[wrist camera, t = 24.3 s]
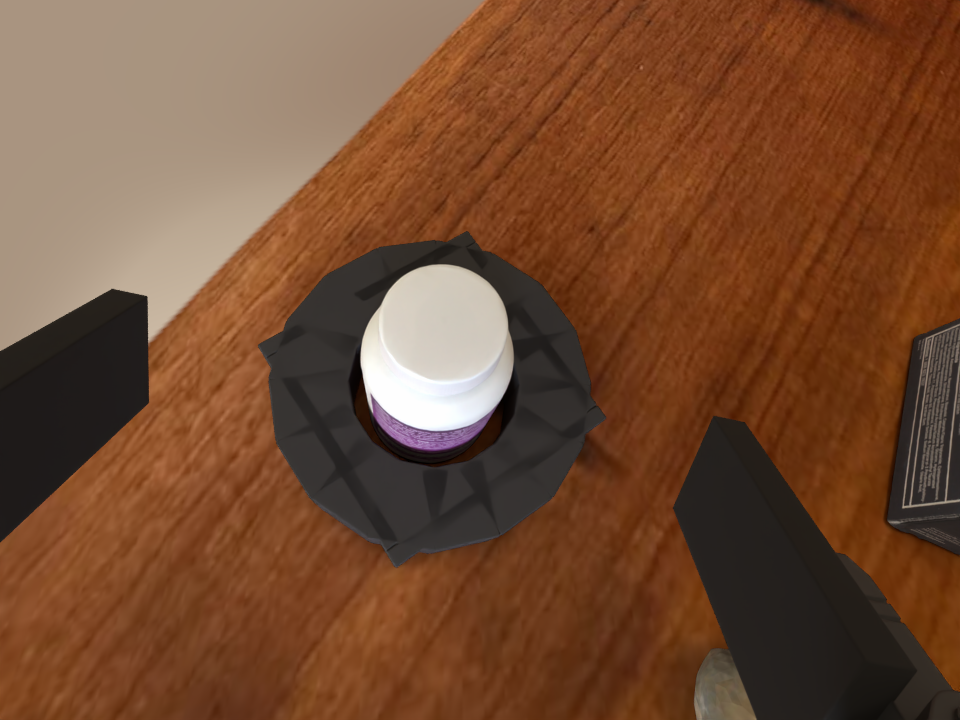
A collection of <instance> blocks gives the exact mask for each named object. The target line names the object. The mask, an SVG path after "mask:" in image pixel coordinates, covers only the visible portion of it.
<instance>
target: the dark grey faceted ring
mask: <svg viewBox="0 0 960 720" xmlns="http://www.w3.org/2000/svg"><path fill="white" fill-rule="evenodd" d="M438 264H441V265H454V266H459V267H462V268H465V269H467V270H470V271H472V272H474V273H476V274H478V275H479V276H480V277H482V278H483V279H485V280H486V281H487V282H488V283H489V284H490V285H491V286H492V287H493V288H494V289H495V290H496V292H497V293H498V295H499V296H500V298H501V300H502V302H503V304H504V307H505V310H506V314H507V318H508V331H509V333H510V336H511V340H512V344H513V352H514V363H513V371H512V375H511V379H510V382H509V384H508V387H507V389H506V391H505V393H504V395H503V400H504V404H505V407H504V413H503V419H502V425H501V431H500V434H499V436H498V437H497V439H496V440H495V442H494V443H493V445H491V446H490V447H488V448H487V449H485V450H484V451H482V452H481V453H479V454H478V455H476V456H475V457H473V458H472V459H470V460H469V461H464V462H459V463H454V464H449V465H444V466H439V467H431V466H426V465H421V464H416V463H411V462H406V461H401V460H399V459H398V458H396V457H395V456H393V455H392V454H390V453H389V452H387V451H386V450H384V449H383V448H381V447H380V446H378V445H377V444H375V443H374V442H372V440H371V439H370V437H369V435H368V434H367V432H366V431H365V429H364V428H363V426H362V425H361V423H360V422H359V420H358V418H357V417H356V412H355V406H354V402H355V398H356V394H357V390H358V386H359V382H360V378H361V375H362V374H363V373H362V368H361V347H362V340H363V336H364V333H365V330H366V328H367V326H368V323H369V321H370V320H371V318H372V317H373V315H374V314H375V312H376V311H377V310H378V309H379V307H380V306H381V305H382V302H383V300H384V298H385V296H386V294H387V292H388V291H389V290H390V288H391V287H392V286H393V285H394V284H395V283H396V282H397V281H398V280H399V279H400V278H401V277H403V276H404V275H406V274H407V273H409V272H411V271H413V270H415V269H417V268H420V267H425V266H429V265H438ZM258 347H259V349H260V351H261V352H262V354H263V356H264V357H265V359H266V361H267V362H268V364H269V366H270V367H271V372H270V375H269V389H270V398H271V406H272V415H273V423H274V432H275V440H276V444H277V445H278V447H279V449H280V450H281V452H282V454H283V455H284V457H285V458H286V460H287V462H288V463H289V465H290V467H291V468H292V470H293V472H294V473H295V475H296V477H297V478H298V480H299V482H300V483H301V485H302V486H303V488H304V490H305V491H306V493H307V495H308V496H309V498H310V499H311V500H312V501H313V502H314V503H316V504H317V505H318V506H319V507H320V508H321V509H322V510H324V511H325V512H327V513H328V514H330V515H331V516H332V517H334V518H335V519H337V520H338V521H340V522H341V523H343V524H344V525H345V526H347V527H348V528H350V529H351V530H353V531H354V532H356V533H357V534H359V535H360V536H361V537H363V538H364V539H366V540H367V541H370V542H371V543H375V544H381V546H382V547H383V549H384V551H385V552H386V553H387V555H388V557H389V559H390V560H391V562H392V563H393V565H394V567H398V566H400V565H401V564H402V563H404V562H405V561H407V560H408V559H410V558H411V557H412V556H414V555H415V554H417V553H418V552H422V553H427V554H429V553H436V552H440V551H445V550H449V549H454V548H458V547H462V546H467V545H471V544H476V543H480V542H485V541H488V540H491V539H494V538H496V537H499V536H500V535H503V534H504V533H506V532H507V531H508V530H510V529H511V528H512V527H514V526H515V525H517V524H518V523H519V522H521V521H522V520H523V519H525V518H526V517H528V516H529V515H530V514H532V513H533V512H534V511H536V510H537V509H538V508H540V507H541V506H543V505H544V504H545V503H547V502H548V501H549V500H551V499H552V497H554V495H555V494H556V492H557V490H558V489H559V487H560V485H561V483H562V482H563V480H564V478H565V477H566V475H567V473H568V471H569V470H570V468H571V466H572V465H573V463H574V461H575V459H576V458H577V456H578V454H579V453H580V451H581V449H582V447H583V445H584V441H585V434H586V433H588V432H589V431H590V430H592V429H593V428H594V427H596V426H597V425H599V424H600V423H601V422H603V421H604V420H605V419H606V416H605V415H604V414H603V412H602V411H601V410H600V408H599V407H598V406H596V403H595V401H594V400H593V399H592V397H591V396H590V391H591V386H590V385H591V382H590V378H589V375H588V371H587V368H586V364H585V360H584V357H583V353H582V350H581V346H580V343H579V339H578V336H577V332H576V330H575V328H574V327H573V325H572V324H571V323H570V321H569V320H568V319H567V317H566V316H565V315H564V313H563V312H562V311H561V309H560V308H559V307H558V306H557V304H556V303H555V302H554V300H553V299H552V298H551V296H550V295H549V294H548V292H547V291H546V290H545V288H544V287H543V286H542V285H541V284H540V283H539V282H537V281H536V280H534V279H533V278H531V277H530V276H528V275H526V274H525V273H523V272H522V271H520V270H519V269H517V268H515V267H514V266H512V265H511V264H509V263H508V262H506V261H504V260H503V259H501V258H500V257H498V256H497V255H495V254H492V253H491V252H487V251H482V249H481V248H480V247H479V245H478V244H477V243H475V240H474V239H473V237H472V236H471V235H470V233H469V232H468V231H466V232H464V233H463V234H461V235H459V236H457V237H455V238H453V239H452V240H450V241H448V242H442V241H435V240H432V241H424V242H416V243H408V244H400V245H392V246H384V247H379V248H376V249H374V250H372V251H370V252H369V253H367V254H365V255H363V256H361V257H359V258H357V259H355V260H353V261H351V262H350V263H348V264H346V265H344V266H342V267H340V268H338V269H336V270H334V271H332V272H330V273H329V274H327V276H324V277H323V279H322V280H321V281H320V282H319V283H318V284H317V286H316V287H315V288H314V289H313V290H312V291H311V293H310V294H309V295H308V296H307V297H306V298H305V300H304V301H303V302H302V303H301V304H300V305H299V307H298V308H297V309H296V310H295V311H294V312H293V314H292V315H291V316H290V317H289V318H288V321H286V324H285V327H284V330H283V331H282V332H280V333H278V334H277V335H275V336H273V337H271V338H269V339H267V340H265V341H264V342H262V343H260V344H259V345H258Z"/></svg>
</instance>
